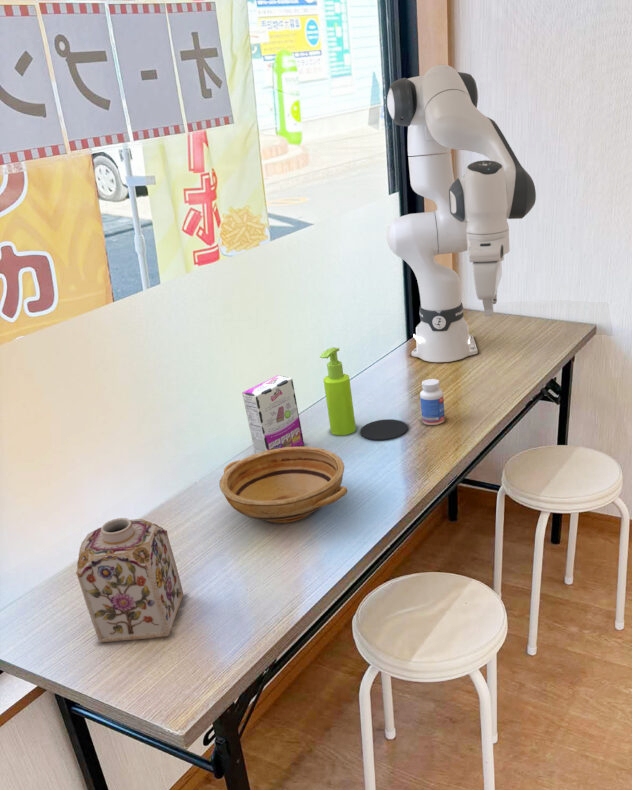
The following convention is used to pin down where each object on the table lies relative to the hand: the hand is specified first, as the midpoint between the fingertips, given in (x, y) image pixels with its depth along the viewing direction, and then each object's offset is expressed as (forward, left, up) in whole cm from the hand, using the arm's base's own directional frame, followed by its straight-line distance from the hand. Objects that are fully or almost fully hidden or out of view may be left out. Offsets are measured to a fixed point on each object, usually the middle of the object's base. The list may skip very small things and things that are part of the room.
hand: (491, 309), depth 185 cm
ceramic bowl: (+41, -38, -26) cm, 62 cm away
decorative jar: (+78, -53, -26) cm, 98 cm away
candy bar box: (+16, -48, -26) cm, 57 cm away
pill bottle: (0, -15, -26) cm, 30 cm away
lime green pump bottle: (+5, -36, -26) cm, 45 cm away
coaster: (+5, -26, -26) cm, 37 cm away
